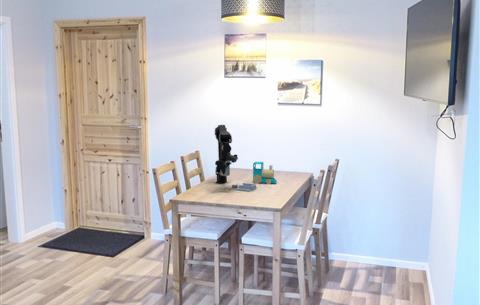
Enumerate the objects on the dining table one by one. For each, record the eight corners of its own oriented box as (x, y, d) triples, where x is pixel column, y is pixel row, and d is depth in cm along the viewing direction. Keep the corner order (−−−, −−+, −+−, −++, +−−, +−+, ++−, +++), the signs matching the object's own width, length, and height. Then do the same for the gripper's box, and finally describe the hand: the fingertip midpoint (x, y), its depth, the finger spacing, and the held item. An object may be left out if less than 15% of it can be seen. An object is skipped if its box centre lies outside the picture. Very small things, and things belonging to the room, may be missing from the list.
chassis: (230, 189, 317) (230, 184, 317) (236, 186, 327) (236, 181, 327) (250, 191, 311) (250, 187, 311) (256, 188, 321) (256, 183, 321)
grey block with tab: (220, 175, 317) (220, 165, 316) (223, 174, 321) (223, 164, 320) (227, 176, 315) (227, 166, 314) (229, 175, 319) (229, 165, 318)
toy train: (275, 184, 333) (275, 164, 331) (252, 183, 337) (252, 163, 335) (277, 182, 341) (277, 162, 339) (254, 181, 345) (255, 161, 343)
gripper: (230, 153, 304) (230, 177, 306) (241, 149, 321) (241, 172, 323) (214, 152, 308) (214, 175, 311) (226, 148, 325) (226, 170, 327)
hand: (225, 173), depth 318 cm, fingers closed on grey block with tab, 4 cm apart
